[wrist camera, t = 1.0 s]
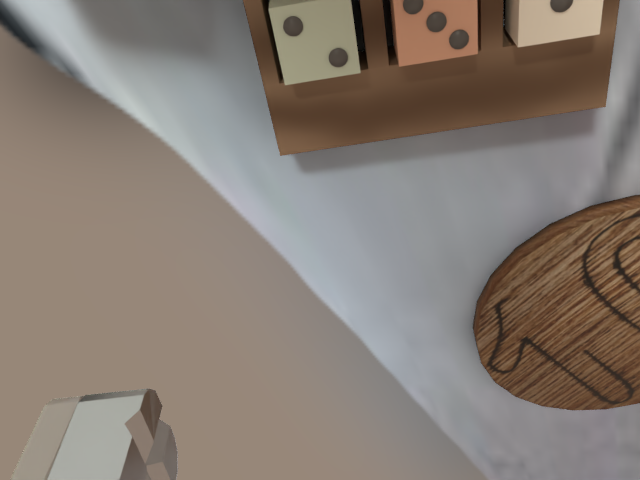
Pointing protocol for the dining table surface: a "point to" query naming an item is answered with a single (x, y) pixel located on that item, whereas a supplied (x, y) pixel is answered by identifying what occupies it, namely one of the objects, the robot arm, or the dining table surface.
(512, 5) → the key one
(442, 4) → the key three
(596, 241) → the trivet
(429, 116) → the key panel
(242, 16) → the dining table surface
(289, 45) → the key two
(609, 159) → the dining table surface
